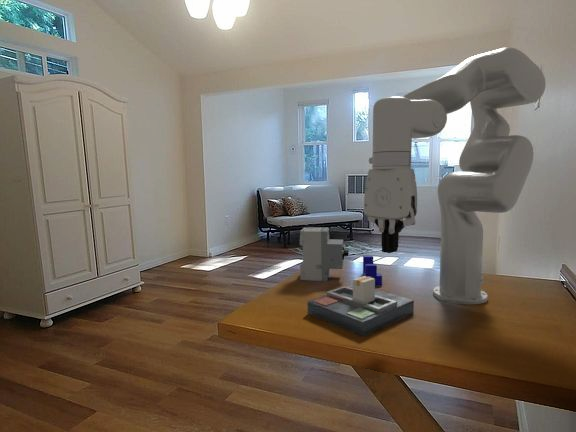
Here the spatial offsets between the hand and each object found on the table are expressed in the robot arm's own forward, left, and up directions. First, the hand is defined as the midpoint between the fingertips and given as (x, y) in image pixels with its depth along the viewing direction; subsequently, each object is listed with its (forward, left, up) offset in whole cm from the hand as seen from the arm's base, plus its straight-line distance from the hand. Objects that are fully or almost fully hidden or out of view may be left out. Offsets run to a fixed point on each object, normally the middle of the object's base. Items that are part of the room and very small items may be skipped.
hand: (389, 251), depth 75 cm
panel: (0, -8, -16) cm, 18 cm away
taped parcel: (0, -7, -12) cm, 14 cm away
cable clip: (-24, -23, -16) cm, 37 cm away
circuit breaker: (-15, -34, -16) cm, 41 cm away
